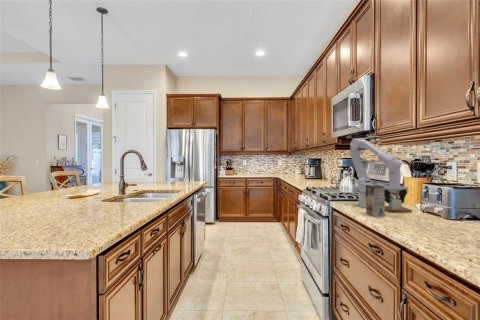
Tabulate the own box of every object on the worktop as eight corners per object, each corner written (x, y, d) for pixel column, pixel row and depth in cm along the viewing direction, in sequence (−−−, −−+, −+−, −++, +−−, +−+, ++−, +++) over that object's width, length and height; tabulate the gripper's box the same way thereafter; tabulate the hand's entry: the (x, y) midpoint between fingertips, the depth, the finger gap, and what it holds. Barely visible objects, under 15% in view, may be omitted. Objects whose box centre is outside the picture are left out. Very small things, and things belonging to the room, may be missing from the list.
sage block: (388, 207, 156) (388, 198, 156) (397, 207, 155) (396, 198, 155) (392, 208, 151) (392, 200, 151) (401, 208, 150) (401, 200, 150)
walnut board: (379, 208, 160) (379, 206, 160) (399, 208, 159) (399, 205, 159) (389, 212, 148) (389, 209, 148) (411, 212, 147) (411, 209, 147)
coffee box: (365, 213, 148) (365, 184, 148) (376, 212, 148) (376, 184, 148) (373, 216, 139) (372, 186, 139) (385, 216, 139) (385, 186, 139)
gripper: (384, 180, 150) (385, 204, 150) (411, 180, 149) (411, 203, 149) (379, 179, 157) (379, 202, 157) (404, 179, 156) (404, 201, 156)
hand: (394, 202), depth 153 cm, fingers open, 7 cm apart
